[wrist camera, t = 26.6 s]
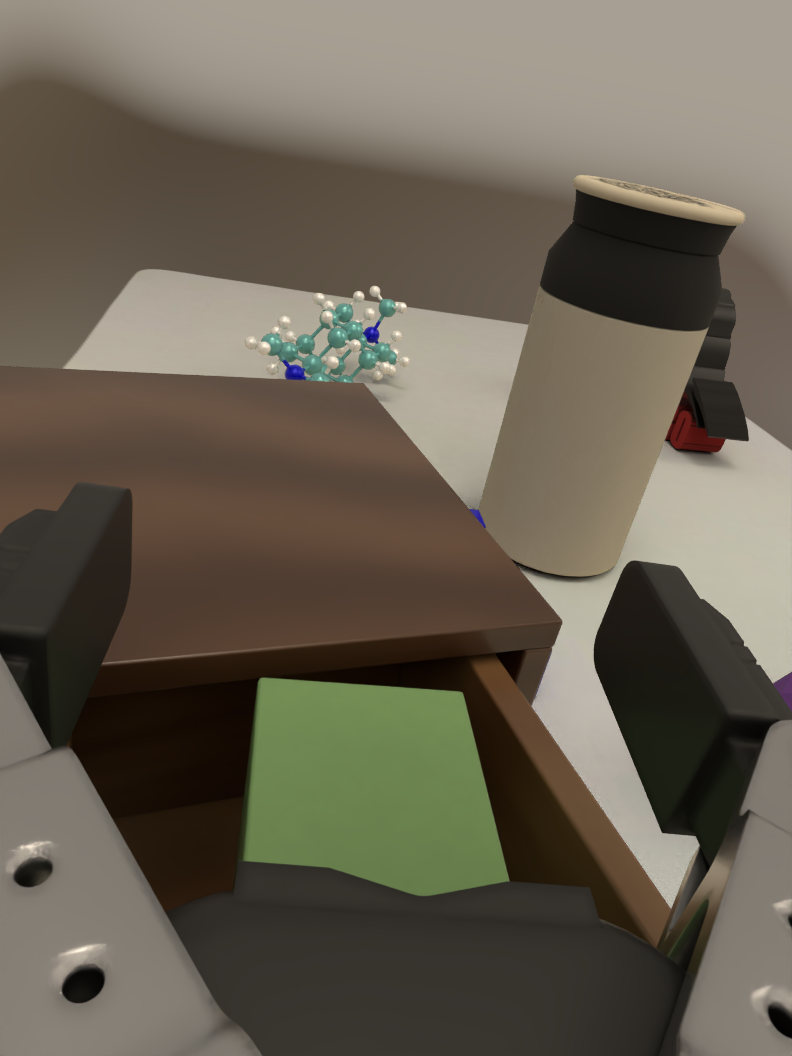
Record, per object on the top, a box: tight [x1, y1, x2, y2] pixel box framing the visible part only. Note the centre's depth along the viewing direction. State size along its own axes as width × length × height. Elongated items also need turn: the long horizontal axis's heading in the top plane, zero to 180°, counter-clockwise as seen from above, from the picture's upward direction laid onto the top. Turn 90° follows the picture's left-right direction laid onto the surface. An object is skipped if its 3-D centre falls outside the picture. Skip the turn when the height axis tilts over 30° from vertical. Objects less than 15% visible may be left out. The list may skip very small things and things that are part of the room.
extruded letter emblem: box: [665, 288, 749, 452], centre depth 61 cm, size 18×4×11 cm, turn 11°
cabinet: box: [0, 366, 562, 706], centre depth 23 cm, size 15×13×10 cm
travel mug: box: [479, 175, 745, 576], centre depth 38 cm, size 8×8×18 cm
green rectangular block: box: [232, 677, 509, 896], centre depth 14 cm, size 4×6×8 cm
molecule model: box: [245, 286, 410, 383], centre depth 52 cm, size 8×18×7 cm, turn 158°
